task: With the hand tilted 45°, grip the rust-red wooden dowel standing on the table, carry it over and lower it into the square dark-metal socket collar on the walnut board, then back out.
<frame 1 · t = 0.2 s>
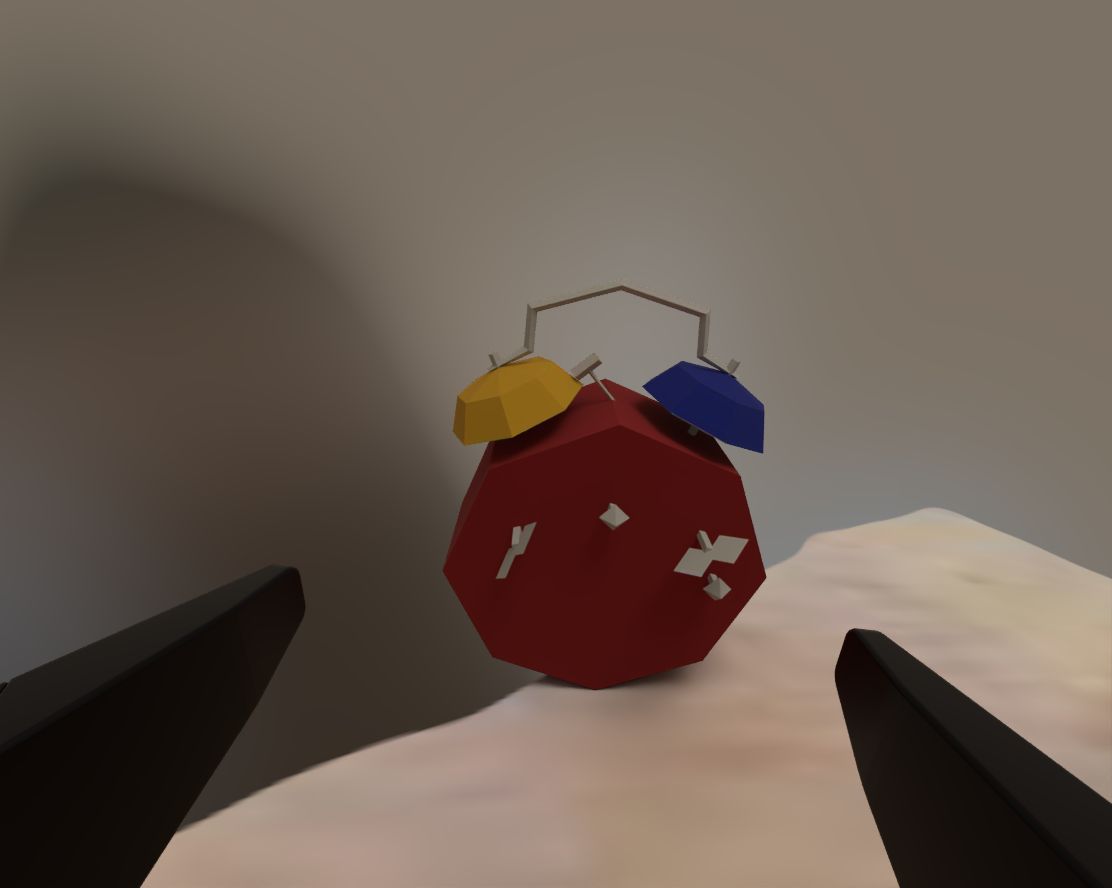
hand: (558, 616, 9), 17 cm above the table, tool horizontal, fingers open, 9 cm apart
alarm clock: (592, 664, 29), on the table
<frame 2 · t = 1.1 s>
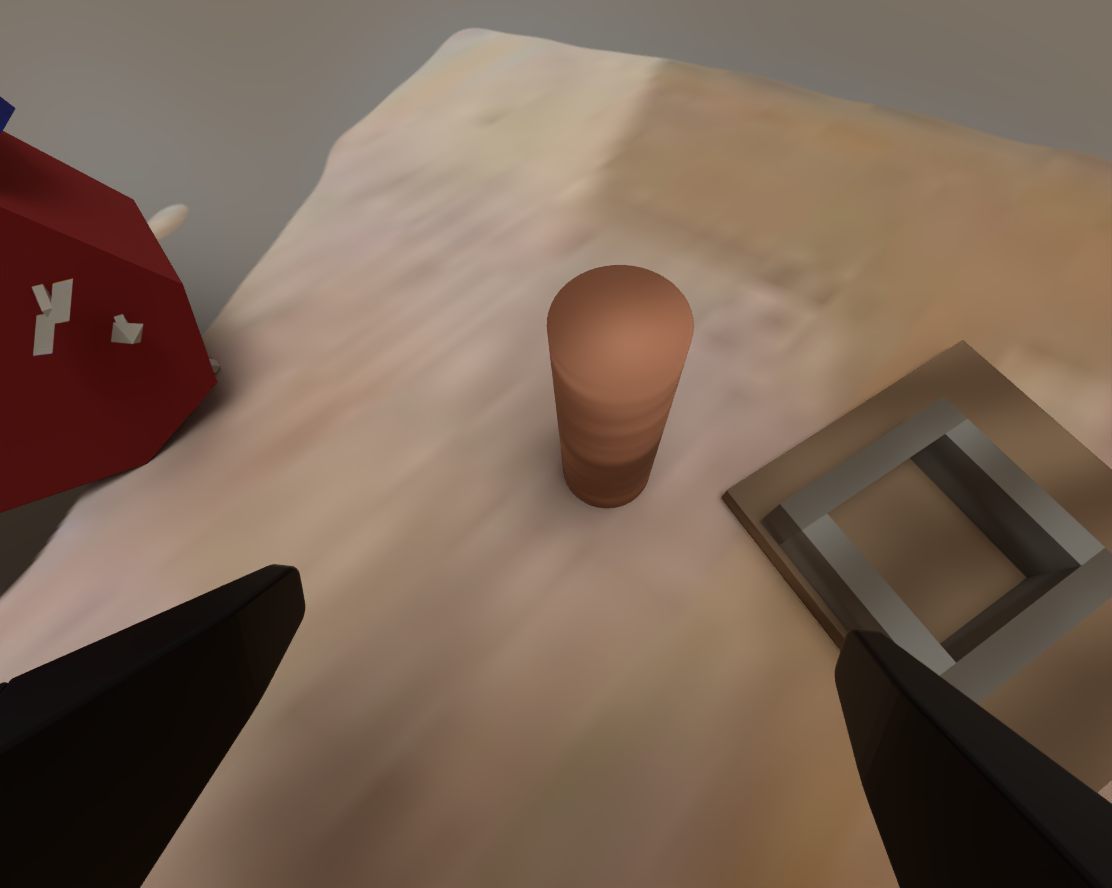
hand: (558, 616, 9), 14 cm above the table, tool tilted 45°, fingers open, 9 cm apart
peg: (606, 466, 25), on the table
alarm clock: (138, 438, 27), on the table
socket board: (897, 558, 22), on the table
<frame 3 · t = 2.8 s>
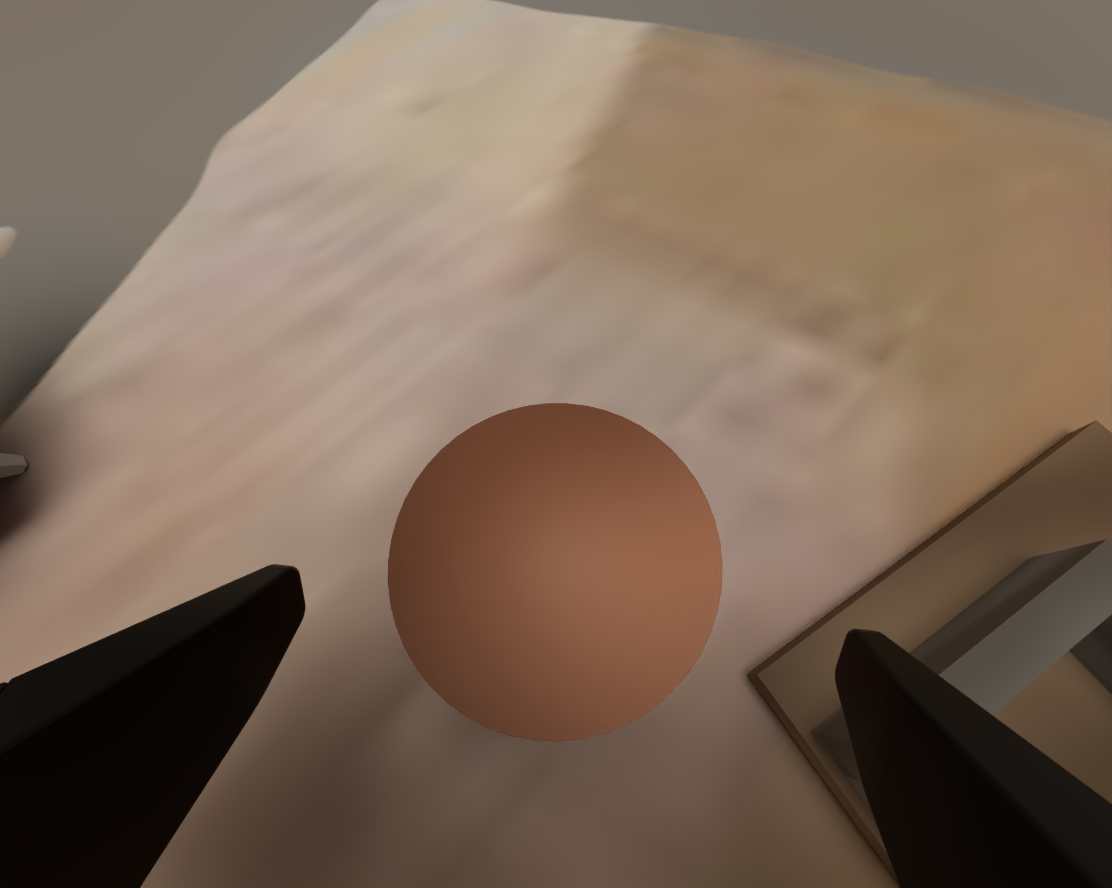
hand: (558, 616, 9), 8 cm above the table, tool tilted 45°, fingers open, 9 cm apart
peg: (574, 621, 16), on the table
socket board: (1025, 781, 14), on the table
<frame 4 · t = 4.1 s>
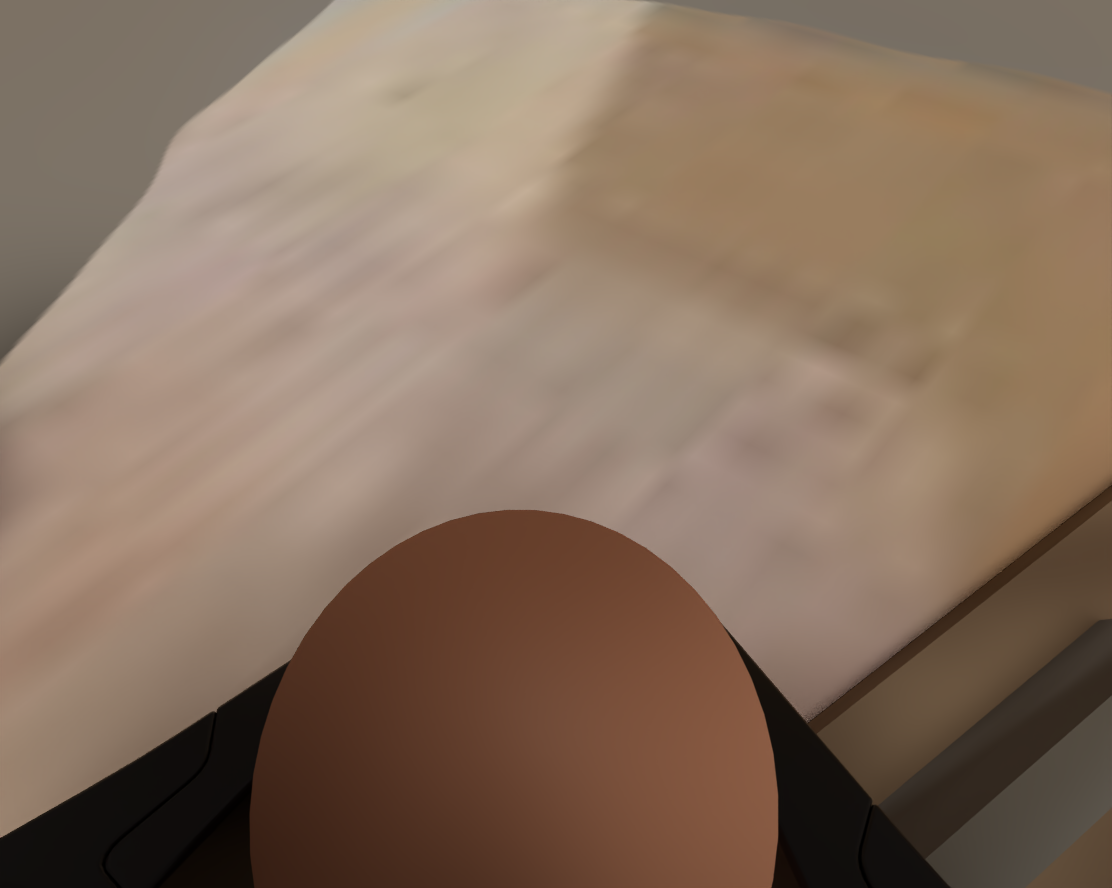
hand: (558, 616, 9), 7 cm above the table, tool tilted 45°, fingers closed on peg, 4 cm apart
peg: (565, 689, 14), on the table, touching gripper
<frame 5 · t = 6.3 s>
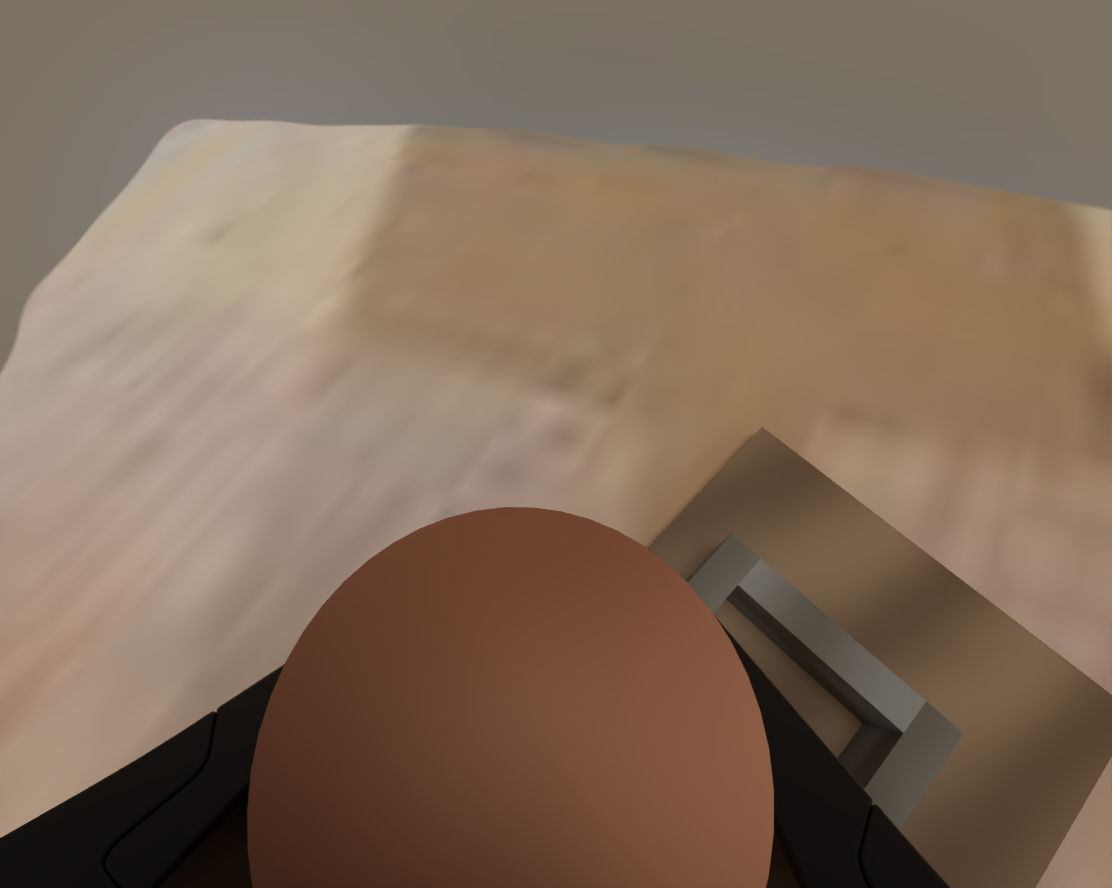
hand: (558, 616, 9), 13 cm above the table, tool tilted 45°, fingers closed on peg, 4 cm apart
peg: (564, 688, 14), point 6 cm above the table, touching gripper
socket board: (727, 719, 19), on the table
when the fingers open (9 cm above the table, at t = 8.5 s): peg stays where it is, resting on socket board.
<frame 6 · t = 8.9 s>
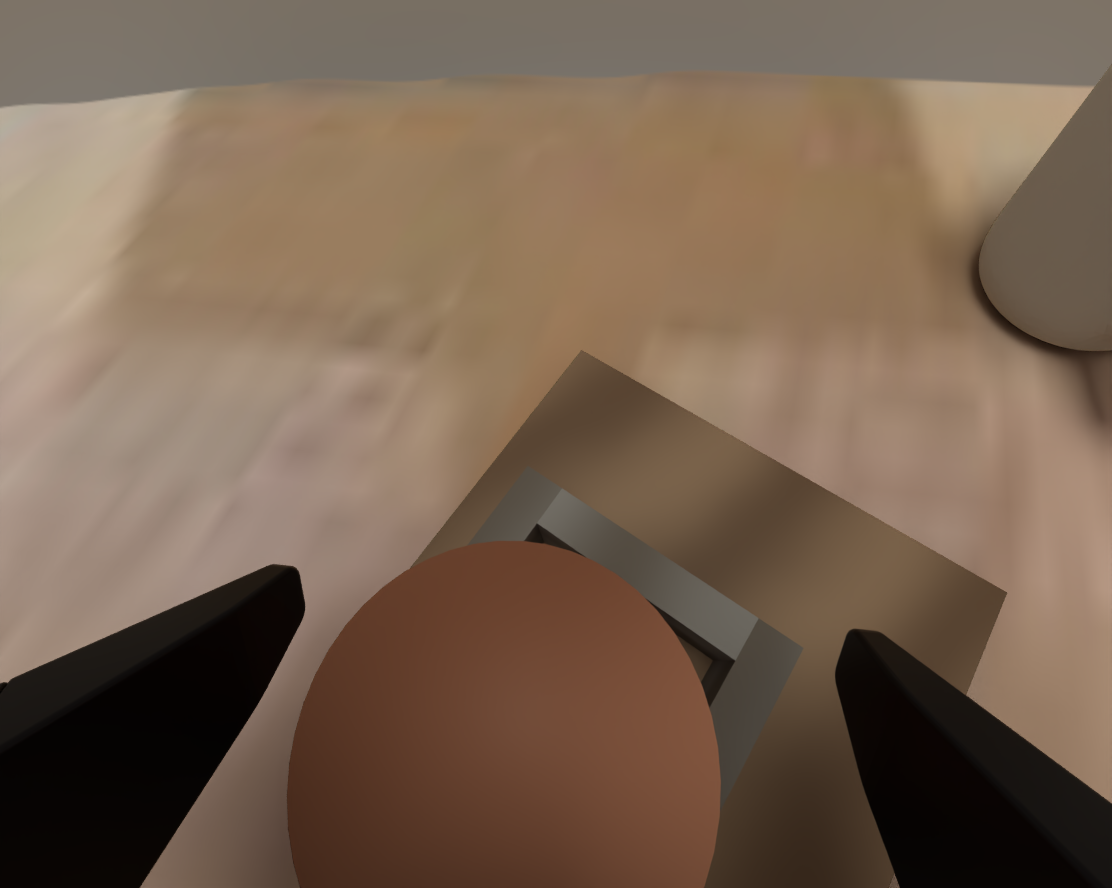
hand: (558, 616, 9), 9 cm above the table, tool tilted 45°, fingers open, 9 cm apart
peg: (567, 687, 15), point 1 cm above the table, touching socket board
cup: (1058, 324, 20), on the table
socket board: (568, 685, 16), on the table
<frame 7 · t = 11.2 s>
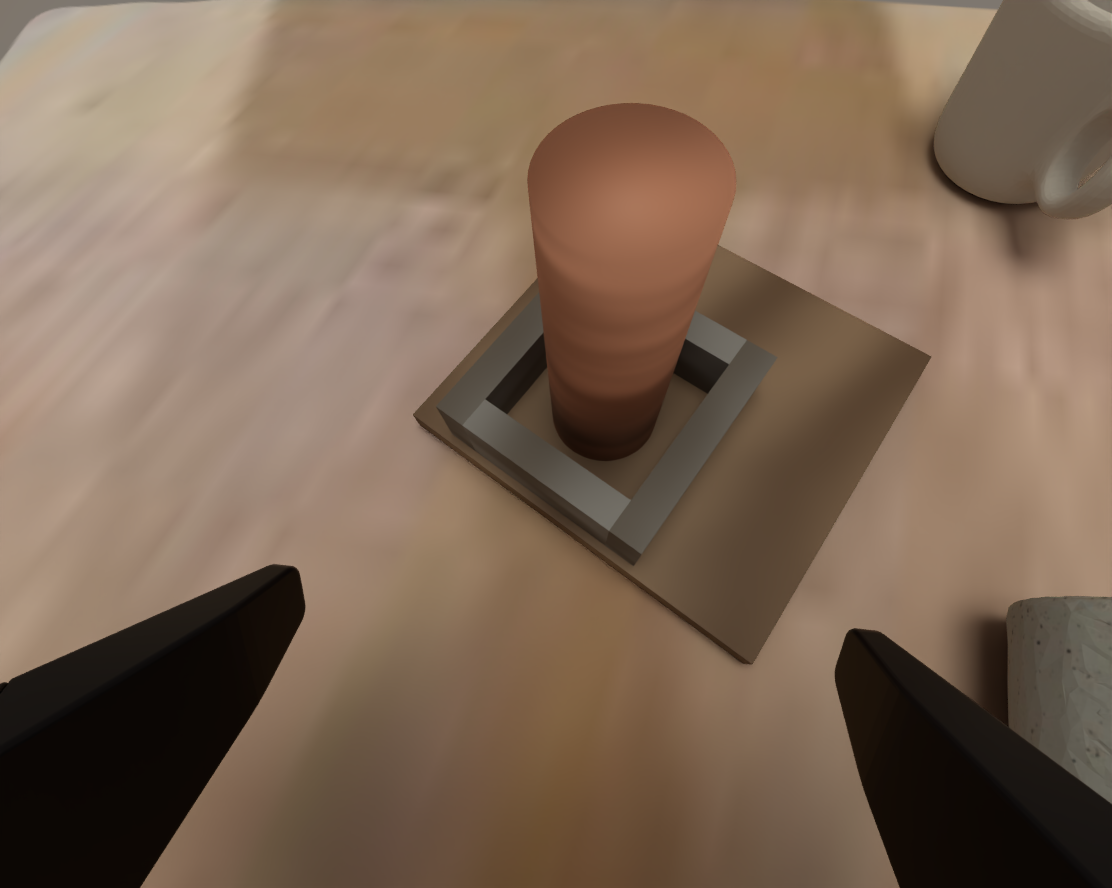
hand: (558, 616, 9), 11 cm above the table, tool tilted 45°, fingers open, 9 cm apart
peg: (604, 412, 20), point 1 cm above the table, touching socket board
cup: (994, 188, 25), on the table
socket board: (603, 422, 21), on the table
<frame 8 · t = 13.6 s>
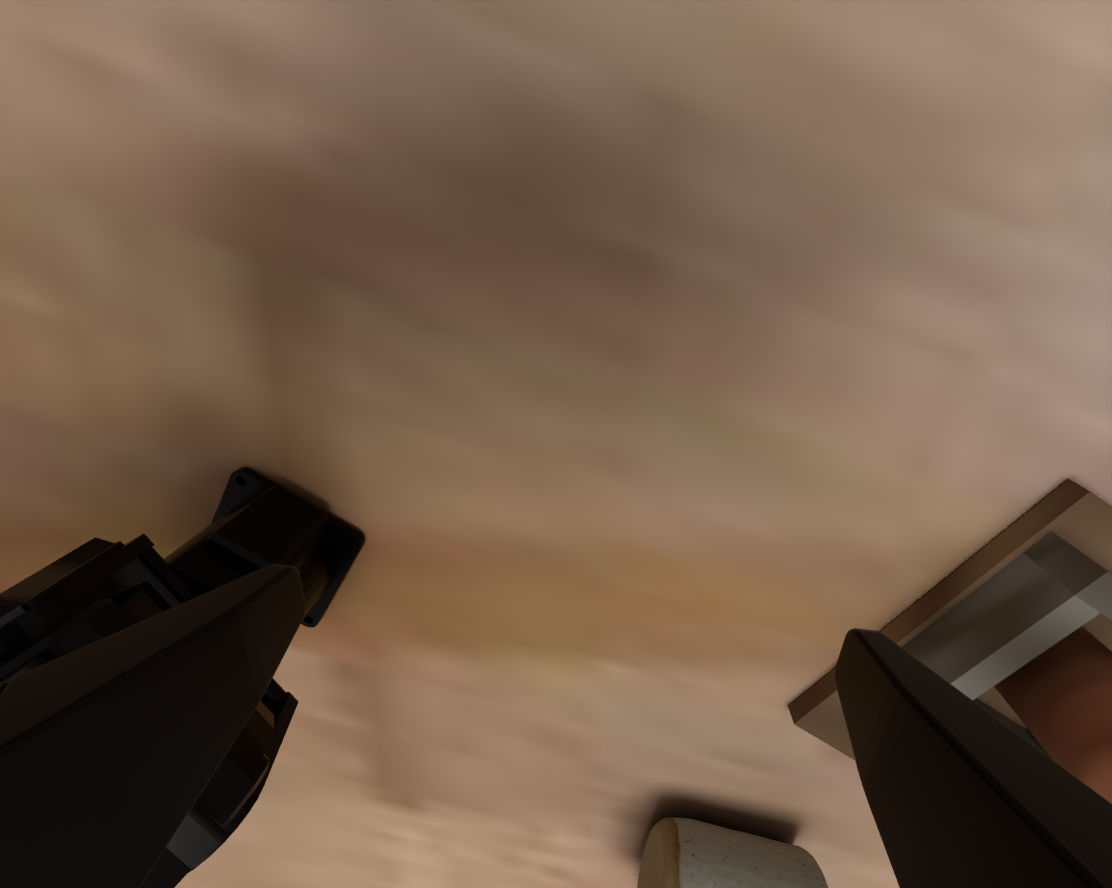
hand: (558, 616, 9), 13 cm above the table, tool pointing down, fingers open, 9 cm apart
peg: (1035, 654, 22), point 1 cm above the table, touching socket board
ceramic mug: (712, 850, 31), on the table
socket board: (1018, 636, 23), on the table
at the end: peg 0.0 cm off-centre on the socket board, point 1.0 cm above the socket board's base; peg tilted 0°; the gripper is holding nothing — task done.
